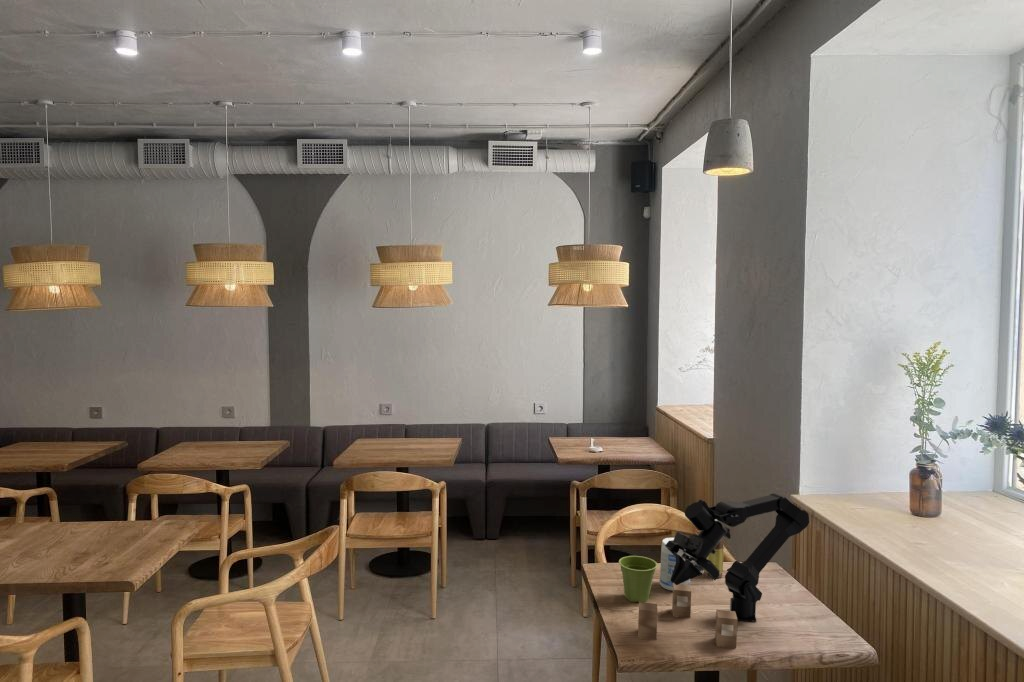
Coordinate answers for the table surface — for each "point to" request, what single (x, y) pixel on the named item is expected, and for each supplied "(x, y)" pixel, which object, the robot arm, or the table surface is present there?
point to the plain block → (647, 621)
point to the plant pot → (637, 577)
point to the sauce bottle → (717, 557)
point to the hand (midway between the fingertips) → (673, 582)
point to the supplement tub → (667, 566)
